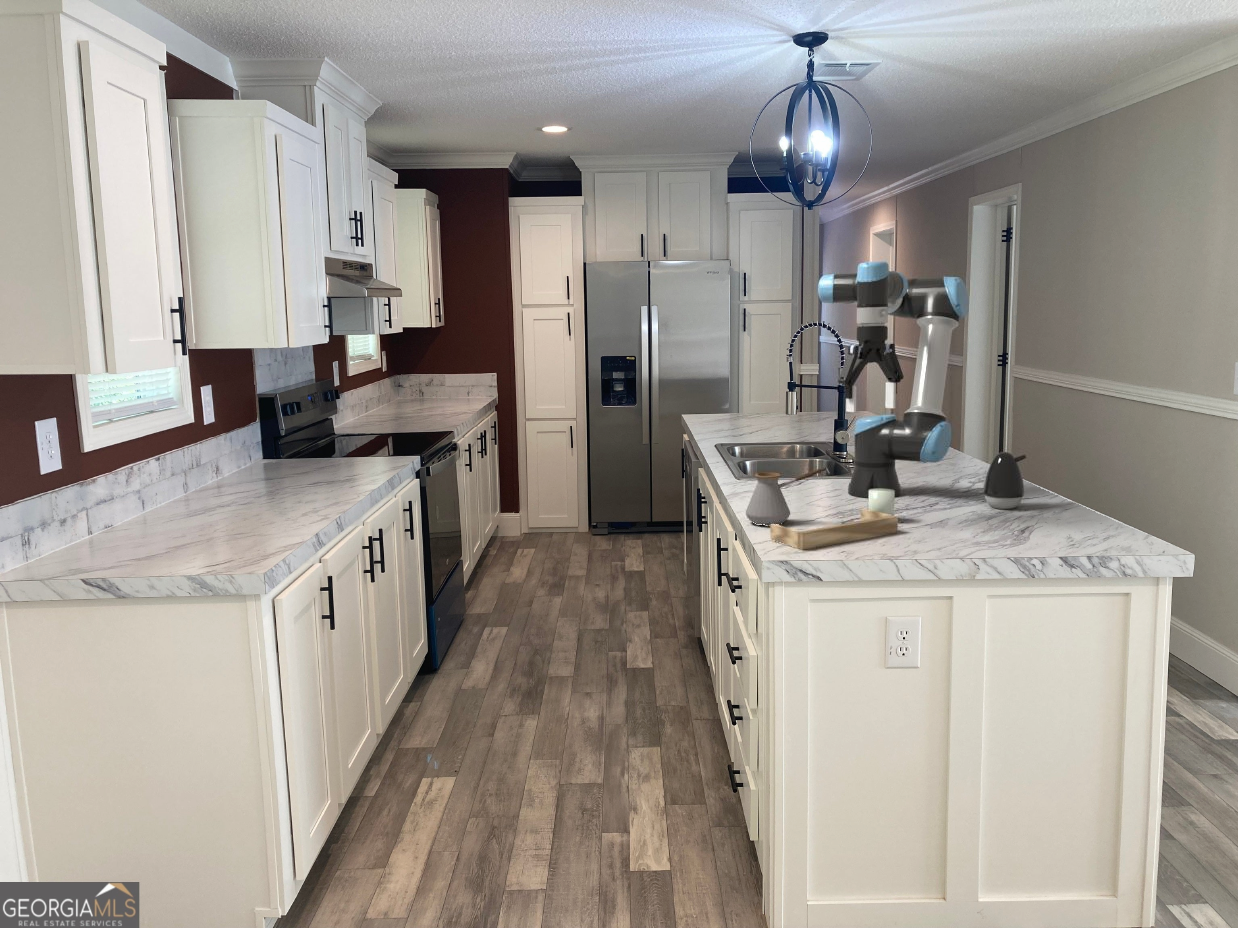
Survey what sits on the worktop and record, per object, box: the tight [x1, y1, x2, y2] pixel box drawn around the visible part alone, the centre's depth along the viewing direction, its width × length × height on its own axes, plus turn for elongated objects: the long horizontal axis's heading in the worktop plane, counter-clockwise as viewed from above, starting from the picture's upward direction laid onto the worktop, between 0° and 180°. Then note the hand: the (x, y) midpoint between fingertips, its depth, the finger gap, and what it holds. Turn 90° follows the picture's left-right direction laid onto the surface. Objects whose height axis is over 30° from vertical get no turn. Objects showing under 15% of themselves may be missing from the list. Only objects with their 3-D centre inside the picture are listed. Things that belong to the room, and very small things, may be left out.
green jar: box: [867, 488, 896, 516], centre depth 240 cm, size 6×6×8 cm
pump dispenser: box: [983, 451, 1027, 510], centre depth 251 cm, size 10×10×15 cm
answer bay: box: [769, 508, 899, 551], centre depth 225 cm, size 12×30×4 cm, turn 119°
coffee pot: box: [745, 466, 830, 525], centre depth 239 cm, size 21×12×15 cm, turn 77°
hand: (870, 410), depth 236 cm, fingers open, 13 cm apart
